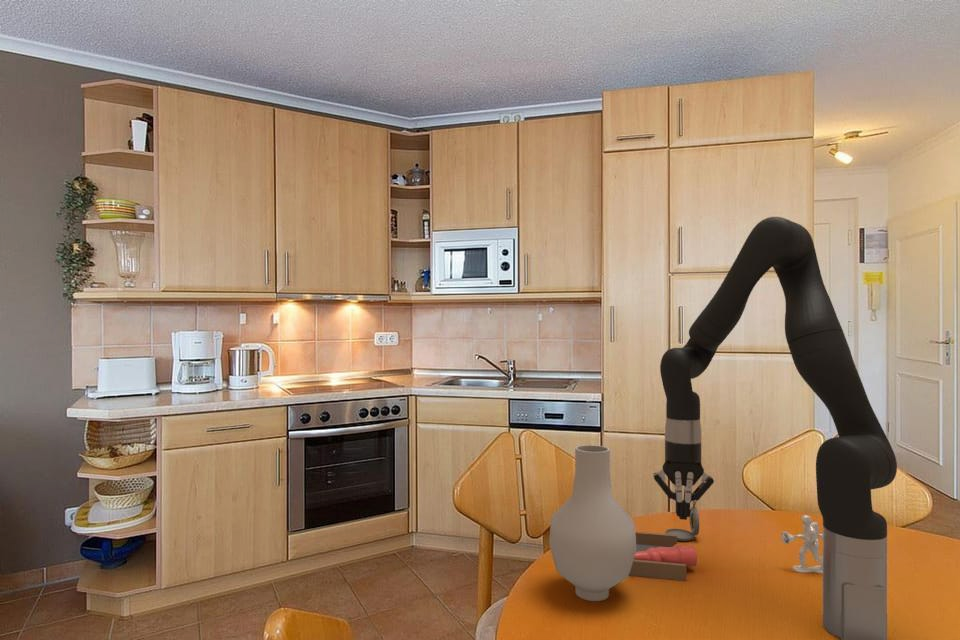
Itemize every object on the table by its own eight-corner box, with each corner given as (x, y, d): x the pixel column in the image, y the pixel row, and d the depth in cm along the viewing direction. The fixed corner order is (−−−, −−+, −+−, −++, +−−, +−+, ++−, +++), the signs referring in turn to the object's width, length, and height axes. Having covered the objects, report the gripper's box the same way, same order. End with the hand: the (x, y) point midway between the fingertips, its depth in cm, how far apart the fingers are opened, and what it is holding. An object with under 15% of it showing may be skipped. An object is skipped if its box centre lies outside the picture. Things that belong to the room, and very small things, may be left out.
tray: (686, 580, 119) (686, 566, 119) (596, 572, 123) (596, 557, 123) (676, 547, 136) (676, 534, 136) (598, 540, 140) (598, 528, 140)
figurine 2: (687, 561, 127) (619, 562, 126) (688, 539, 127) (620, 539, 126) (697, 574, 122) (626, 574, 121) (698, 550, 121) (627, 551, 121)
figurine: (834, 574, 122) (834, 517, 122) (794, 577, 121) (794, 519, 121) (817, 565, 127) (817, 509, 127) (779, 567, 125) (779, 511, 125)
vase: (636, 580, 119) (637, 442, 119) (636, 620, 103) (636, 461, 103) (555, 570, 123) (555, 438, 123) (542, 607, 107) (542, 455, 107)
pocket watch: (659, 535, 144) (659, 494, 144) (685, 530, 148) (685, 490, 148) (683, 546, 137) (683, 503, 137) (710, 541, 140) (710, 499, 141)
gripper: (652, 440, 125) (652, 521, 125) (718, 443, 122) (718, 526, 122) (650, 434, 132) (650, 511, 132) (712, 437, 130) (712, 515, 129)
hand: (683, 518), depth 127 cm, fingers closed
